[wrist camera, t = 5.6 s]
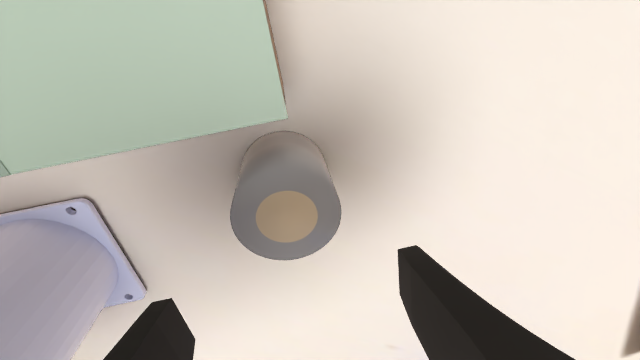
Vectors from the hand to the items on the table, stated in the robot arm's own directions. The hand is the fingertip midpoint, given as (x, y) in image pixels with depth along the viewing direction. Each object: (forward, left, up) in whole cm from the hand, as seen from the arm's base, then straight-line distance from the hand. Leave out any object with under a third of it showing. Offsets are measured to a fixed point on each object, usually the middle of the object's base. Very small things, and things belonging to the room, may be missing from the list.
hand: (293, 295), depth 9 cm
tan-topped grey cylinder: (0, 0, -10) cm, 10 cm away
